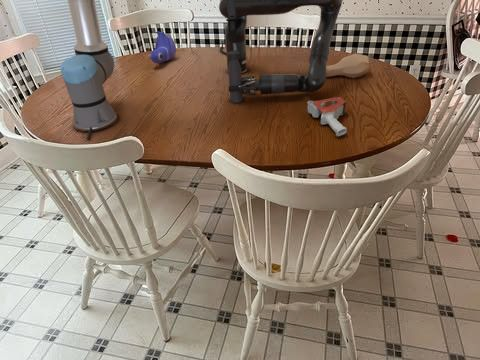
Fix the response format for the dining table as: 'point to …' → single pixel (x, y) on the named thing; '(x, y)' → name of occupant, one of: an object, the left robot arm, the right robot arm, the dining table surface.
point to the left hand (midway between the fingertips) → (232, 37)
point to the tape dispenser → (329, 113)
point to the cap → (233, 55)
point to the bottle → (235, 80)
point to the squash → (350, 66)
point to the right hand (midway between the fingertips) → (229, 86)
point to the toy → (163, 48)
